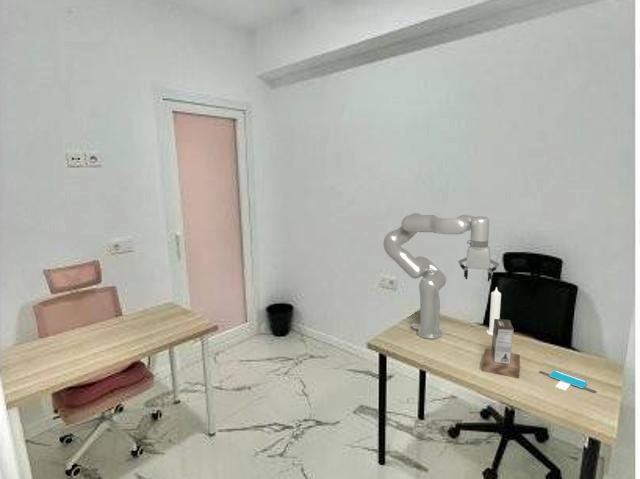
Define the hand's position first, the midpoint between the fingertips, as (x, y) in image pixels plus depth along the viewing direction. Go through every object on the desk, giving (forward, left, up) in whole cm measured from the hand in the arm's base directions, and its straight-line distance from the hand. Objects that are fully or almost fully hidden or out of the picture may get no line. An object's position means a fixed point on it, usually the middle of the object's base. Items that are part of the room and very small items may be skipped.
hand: (477, 279), depth 179 cm
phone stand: (+36, -19, -34) cm, 53 cm away
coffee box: (+12, -17, -29) cm, 35 cm away
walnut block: (+12, -17, -34) cm, 40 cm away
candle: (+8, +16, -34) cm, 38 cm away
